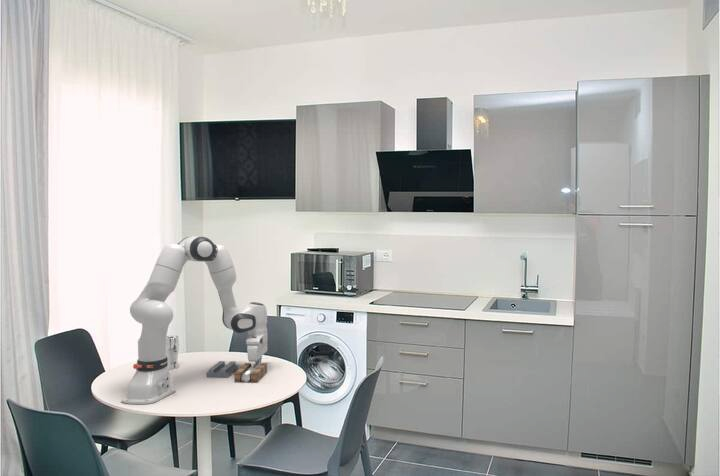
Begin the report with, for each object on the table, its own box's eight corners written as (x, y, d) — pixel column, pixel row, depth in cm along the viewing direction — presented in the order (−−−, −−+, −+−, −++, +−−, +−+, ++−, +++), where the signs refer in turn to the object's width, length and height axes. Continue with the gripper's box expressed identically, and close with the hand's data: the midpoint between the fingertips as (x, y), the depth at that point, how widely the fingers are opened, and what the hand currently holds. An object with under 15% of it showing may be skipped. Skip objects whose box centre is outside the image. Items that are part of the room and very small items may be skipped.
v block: (228, 380, 251) (227, 370, 251) (206, 379, 252) (206, 369, 252) (238, 370, 265) (238, 361, 265) (217, 370, 266) (217, 361, 266)
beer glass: (174, 364, 277) (173, 334, 276) (182, 367, 272) (181, 336, 272) (161, 368, 271) (160, 337, 271) (169, 370, 267) (168, 339, 266)
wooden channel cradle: (256, 385, 244) (256, 373, 243) (234, 384, 245) (234, 373, 245) (267, 374, 260) (266, 363, 259) (245, 373, 261) (245, 363, 260)
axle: (250, 382, 244) (249, 373, 244) (241, 382, 244) (240, 373, 244) (260, 371, 260) (260, 363, 260) (252, 371, 260) (251, 363, 260)
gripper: (257, 331, 274) (258, 359, 275) (244, 341, 253) (245, 372, 254) (270, 332, 273) (270, 360, 274) (258, 342, 253) (258, 372, 254)
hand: (258, 366), depth 264 cm, fingers closed
